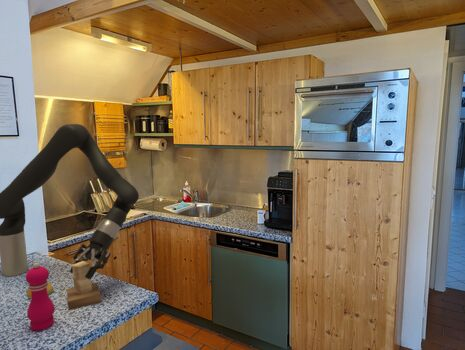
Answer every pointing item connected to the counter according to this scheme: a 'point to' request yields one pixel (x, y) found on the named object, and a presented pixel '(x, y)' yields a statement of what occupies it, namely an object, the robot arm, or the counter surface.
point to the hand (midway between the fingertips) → (79, 275)
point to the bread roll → (49, 290)
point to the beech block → (81, 278)
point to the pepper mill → (39, 298)
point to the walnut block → (83, 297)
